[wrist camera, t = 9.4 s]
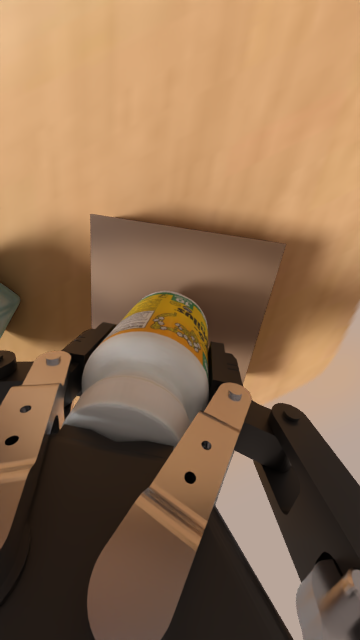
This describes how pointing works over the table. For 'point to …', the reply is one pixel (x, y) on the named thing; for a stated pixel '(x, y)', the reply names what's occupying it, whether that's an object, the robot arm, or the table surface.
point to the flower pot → (7, 306)
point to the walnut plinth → (184, 276)
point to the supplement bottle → (147, 373)
